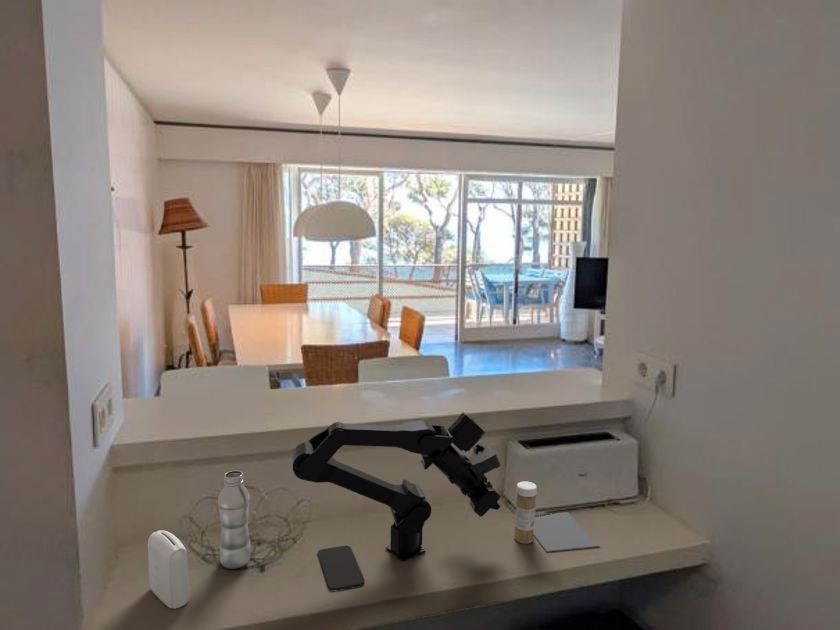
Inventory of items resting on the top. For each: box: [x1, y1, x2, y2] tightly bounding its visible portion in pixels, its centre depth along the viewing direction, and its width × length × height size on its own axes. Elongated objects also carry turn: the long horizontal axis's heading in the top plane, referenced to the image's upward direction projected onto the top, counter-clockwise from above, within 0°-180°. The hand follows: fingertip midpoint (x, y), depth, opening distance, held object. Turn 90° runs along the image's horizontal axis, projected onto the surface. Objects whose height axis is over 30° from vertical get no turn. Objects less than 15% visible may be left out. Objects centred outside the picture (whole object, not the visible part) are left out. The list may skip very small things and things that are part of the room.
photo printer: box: [147, 529, 190, 610], centre depth 113 cm, size 10×4×12 cm, turn 47°
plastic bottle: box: [217, 470, 252, 570], centre depth 123 cm, size 6×7×20 cm
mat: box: [533, 511, 600, 553], centre depth 141 cm, size 13×16×1 cm
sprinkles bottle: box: [513, 480, 538, 545], centre depth 136 cm, size 5×5×14 cm
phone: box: [317, 545, 365, 591], centre depth 124 cm, size 7×1×15 cm
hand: (498, 507), depth 135 cm, fingers closed
